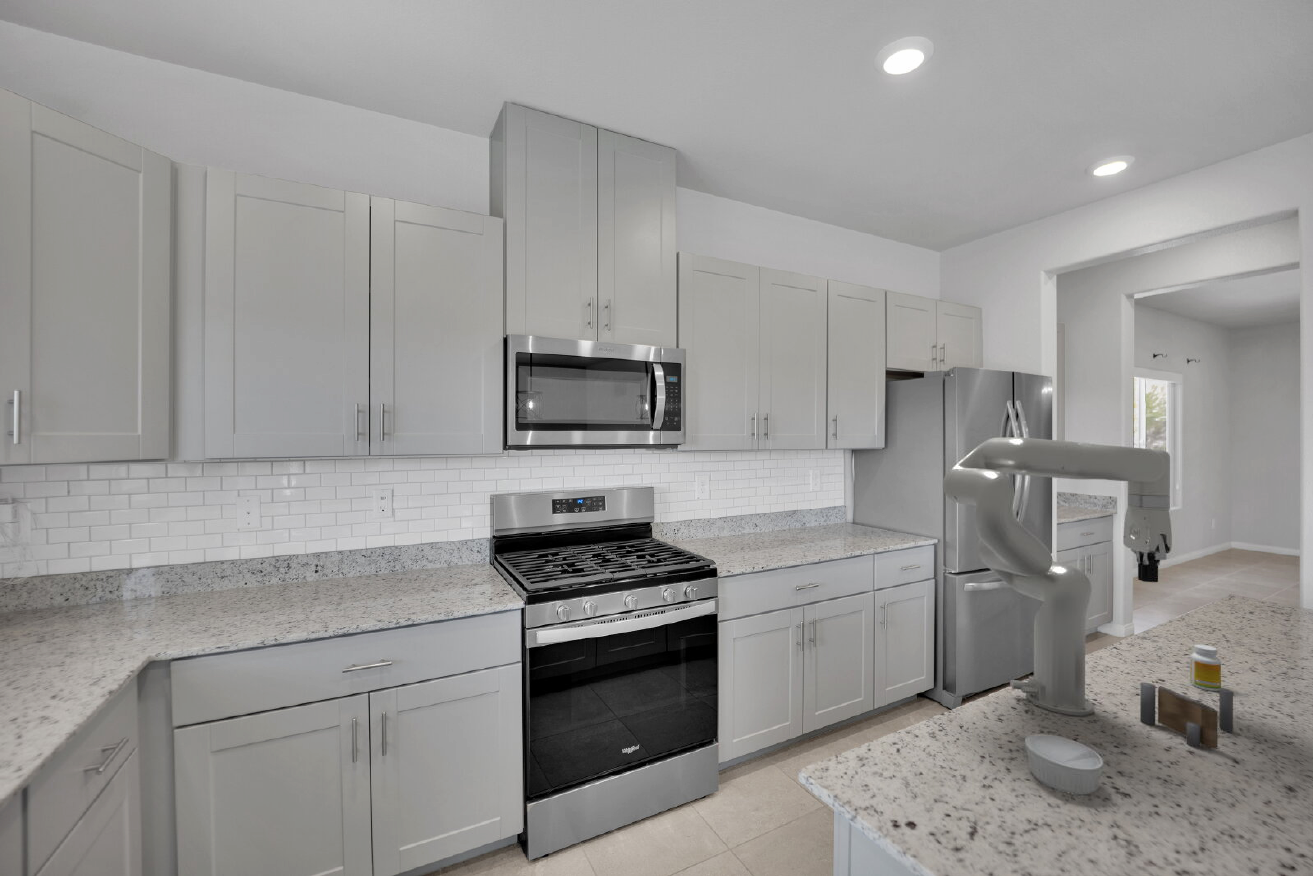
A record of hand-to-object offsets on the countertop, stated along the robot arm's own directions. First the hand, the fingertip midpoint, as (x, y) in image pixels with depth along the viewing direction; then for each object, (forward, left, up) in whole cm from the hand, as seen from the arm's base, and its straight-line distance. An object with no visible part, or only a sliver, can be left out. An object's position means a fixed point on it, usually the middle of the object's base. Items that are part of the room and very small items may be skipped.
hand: (1147, 581), depth 133 cm
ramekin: (-36, -41, -27) cm, 61 cm away
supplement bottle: (+18, +10, -27) cm, 34 cm away
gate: (-4, -19, -26) cm, 33 cm away
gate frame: (-6, -18, -27) cm, 33 cm away
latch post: (+6, -14, -27) cm, 31 cm away
